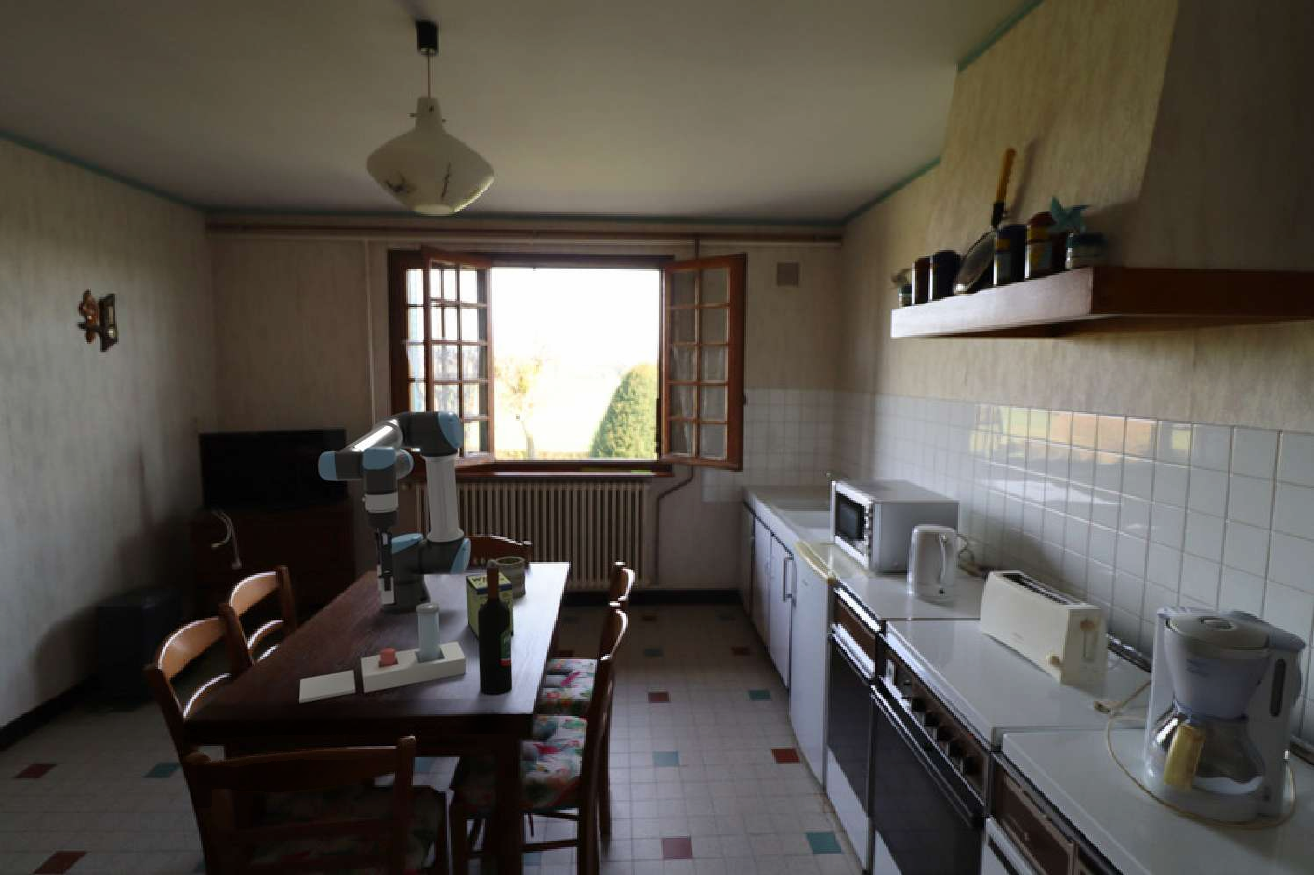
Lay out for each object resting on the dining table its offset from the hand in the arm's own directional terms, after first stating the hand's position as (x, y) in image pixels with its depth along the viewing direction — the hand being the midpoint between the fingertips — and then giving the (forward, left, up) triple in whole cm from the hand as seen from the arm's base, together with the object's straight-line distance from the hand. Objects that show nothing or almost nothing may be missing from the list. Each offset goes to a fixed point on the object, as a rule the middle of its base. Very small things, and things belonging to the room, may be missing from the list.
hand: (385, 596), depth 173 cm
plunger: (0, 0, -19) cm, 19 cm away
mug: (-53, +42, -21) cm, 71 cm away
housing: (0, +6, -21) cm, 22 cm away
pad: (-1, -14, -21) cm, 25 cm away
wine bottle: (+18, +23, -21) cm, 36 cm away
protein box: (-21, +30, -21) cm, 42 cm away
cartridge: (0, +10, -21) cm, 23 cm away
